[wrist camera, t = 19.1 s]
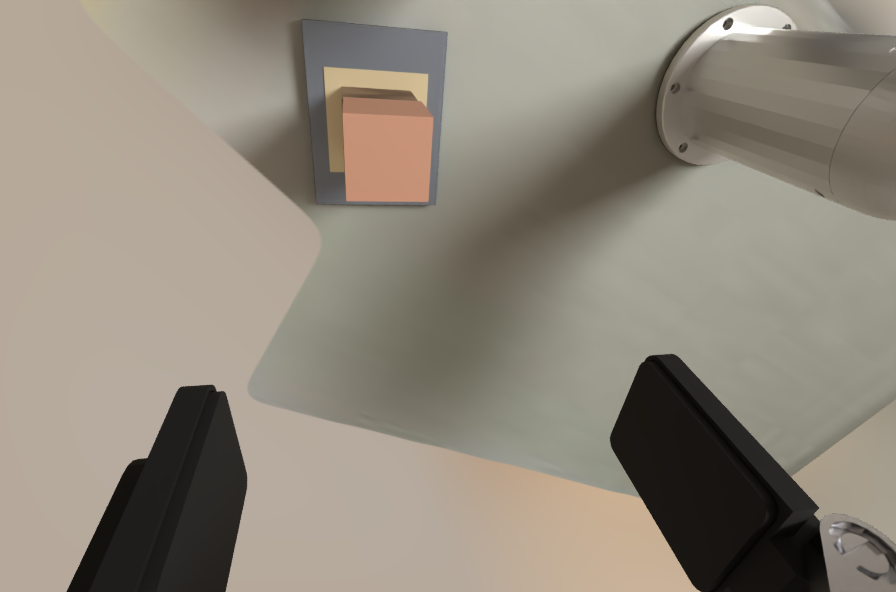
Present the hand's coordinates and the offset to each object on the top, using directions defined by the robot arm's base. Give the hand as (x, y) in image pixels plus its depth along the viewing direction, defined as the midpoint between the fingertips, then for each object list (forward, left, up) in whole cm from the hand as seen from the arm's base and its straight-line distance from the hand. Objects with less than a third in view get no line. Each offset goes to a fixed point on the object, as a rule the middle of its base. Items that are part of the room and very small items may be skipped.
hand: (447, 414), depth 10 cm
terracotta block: (0, 0, -24) cm, 24 cm away
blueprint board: (0, 0, -30) cm, 30 cm away
